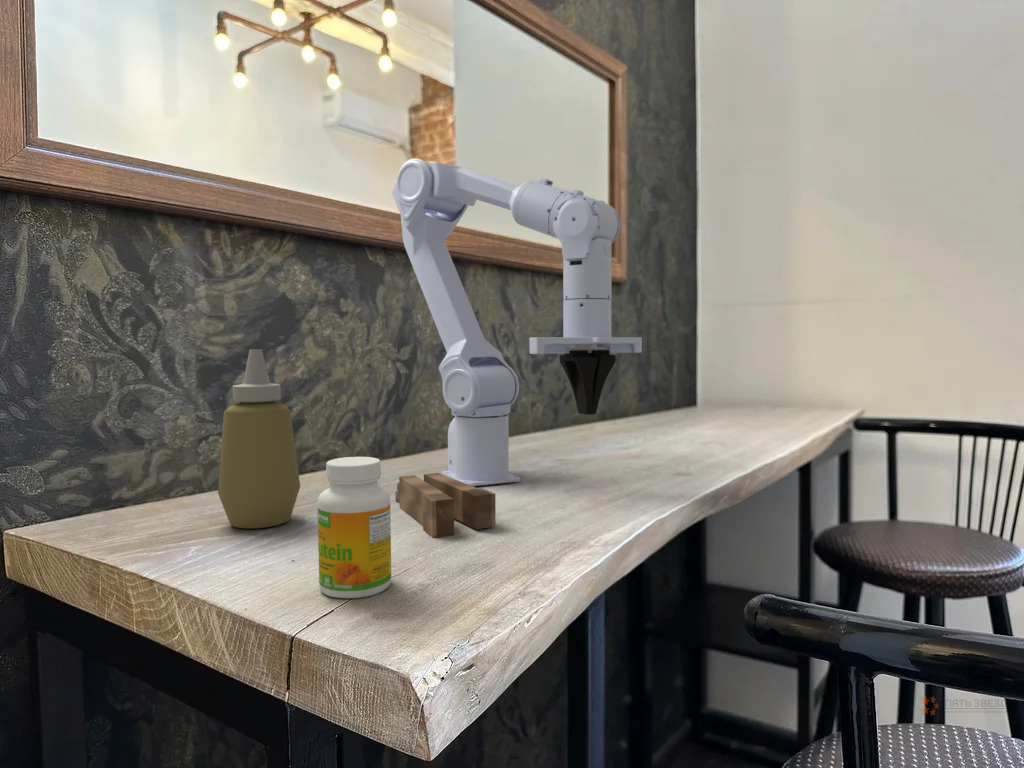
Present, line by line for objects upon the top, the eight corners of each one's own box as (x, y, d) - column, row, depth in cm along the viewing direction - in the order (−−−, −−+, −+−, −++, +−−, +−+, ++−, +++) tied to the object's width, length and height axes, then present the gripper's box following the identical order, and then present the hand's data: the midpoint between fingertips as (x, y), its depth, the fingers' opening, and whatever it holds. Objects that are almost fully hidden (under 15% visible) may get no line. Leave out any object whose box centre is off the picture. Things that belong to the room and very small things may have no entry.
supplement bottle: (303, 592, 51) (300, 463, 50) (352, 571, 55) (349, 453, 55) (359, 605, 48) (357, 469, 47) (405, 581, 53) (403, 458, 52)
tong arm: (393, 497, 81) (392, 469, 81) (426, 493, 83) (425, 466, 83) (457, 532, 66) (457, 498, 66) (495, 526, 68) (495, 493, 68)
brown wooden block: (385, 498, 81) (385, 469, 81) (421, 495, 83) (420, 466, 82) (432, 537, 65) (431, 501, 65) (475, 531, 67) (474, 496, 66)
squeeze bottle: (274, 535, 66) (269, 349, 65) (200, 531, 67) (194, 350, 66) (315, 514, 74) (311, 348, 72) (248, 511, 75) (243, 349, 74)
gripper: (549, 296, 74) (549, 420, 75) (657, 299, 80) (656, 413, 81) (521, 300, 81) (521, 414, 81) (623, 303, 87) (623, 408, 88)
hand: (587, 413), depth 82 cm, fingers closed
